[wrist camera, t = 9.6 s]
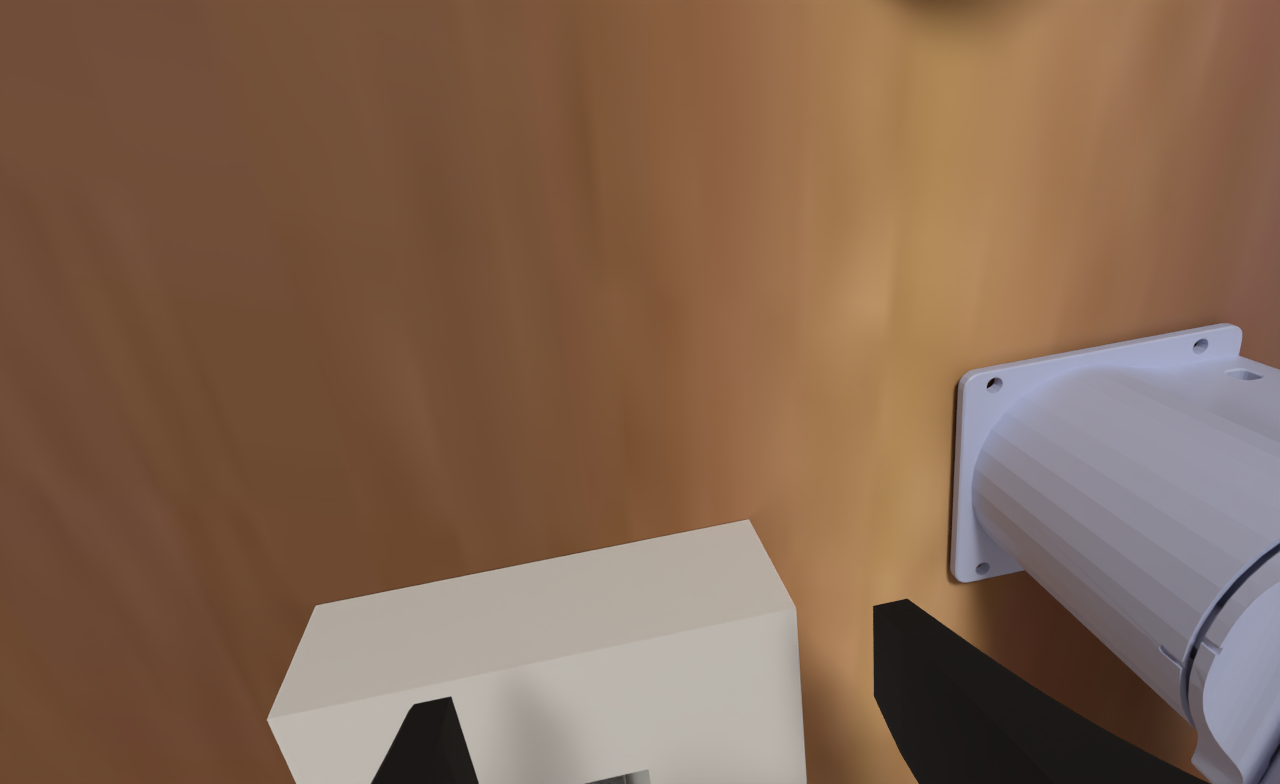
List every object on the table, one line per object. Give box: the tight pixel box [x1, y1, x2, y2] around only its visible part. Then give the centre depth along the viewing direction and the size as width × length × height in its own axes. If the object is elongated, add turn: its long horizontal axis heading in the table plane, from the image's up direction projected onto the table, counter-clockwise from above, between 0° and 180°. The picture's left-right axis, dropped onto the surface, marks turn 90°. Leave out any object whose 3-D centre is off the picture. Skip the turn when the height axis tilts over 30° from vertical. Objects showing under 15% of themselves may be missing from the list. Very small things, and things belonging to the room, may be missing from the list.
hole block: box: [267, 519, 807, 784], centre depth 23 cm, size 14×14×4 cm
